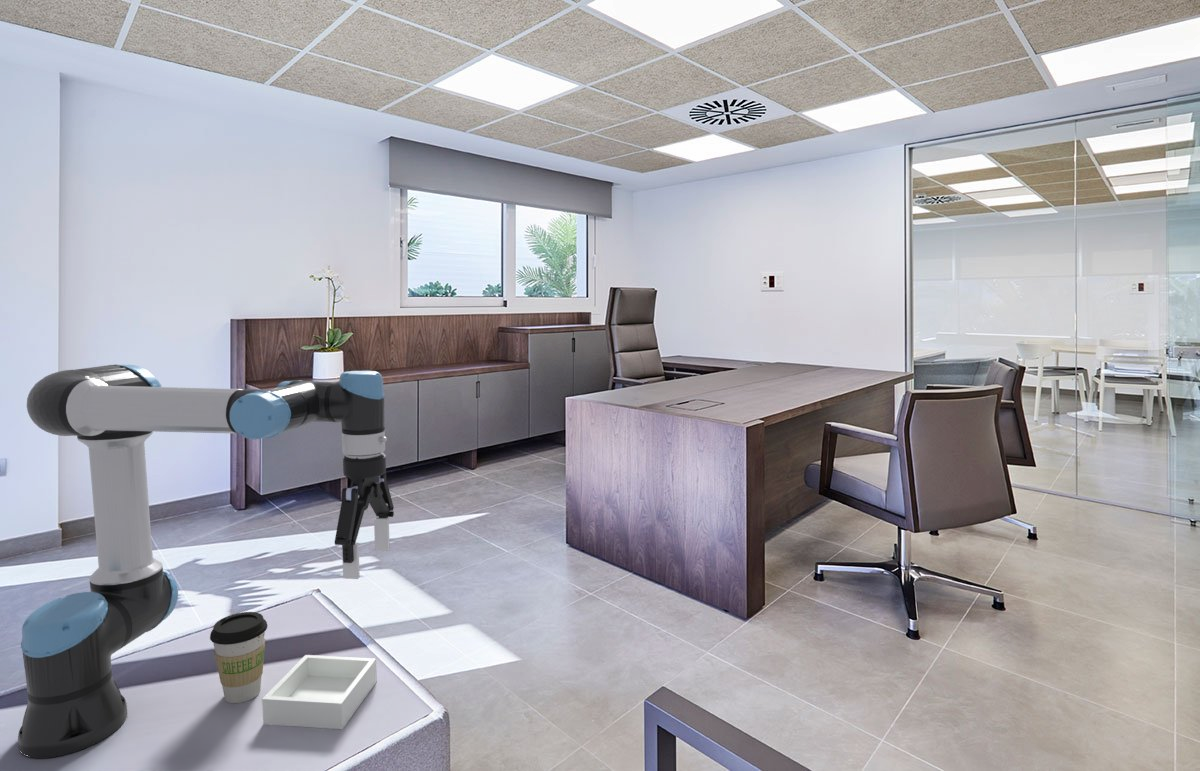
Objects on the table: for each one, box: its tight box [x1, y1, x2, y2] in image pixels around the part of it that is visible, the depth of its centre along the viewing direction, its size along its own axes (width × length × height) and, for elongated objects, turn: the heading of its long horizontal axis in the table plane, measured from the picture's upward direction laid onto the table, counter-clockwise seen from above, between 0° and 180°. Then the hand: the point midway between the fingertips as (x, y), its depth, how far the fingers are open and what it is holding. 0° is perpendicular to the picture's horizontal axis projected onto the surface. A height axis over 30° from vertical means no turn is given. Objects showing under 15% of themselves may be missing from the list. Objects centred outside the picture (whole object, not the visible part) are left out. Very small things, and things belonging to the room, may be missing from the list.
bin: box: [261, 654, 378, 730], centre depth 124 cm, size 15×15×5 cm
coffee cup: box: [209, 611, 268, 704], centre depth 125 cm, size 10×10×15 cm
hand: (367, 563), depth 121 cm, fingers open, 13 cm apart
